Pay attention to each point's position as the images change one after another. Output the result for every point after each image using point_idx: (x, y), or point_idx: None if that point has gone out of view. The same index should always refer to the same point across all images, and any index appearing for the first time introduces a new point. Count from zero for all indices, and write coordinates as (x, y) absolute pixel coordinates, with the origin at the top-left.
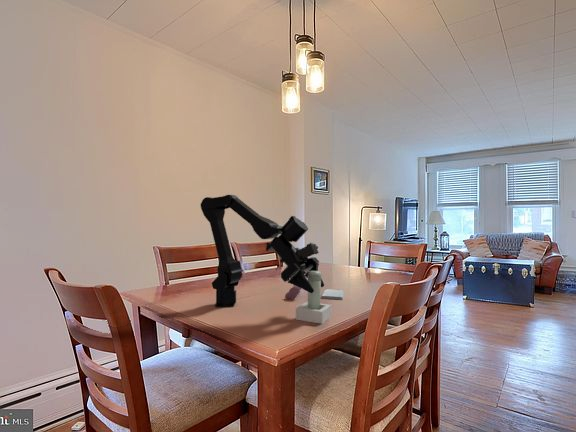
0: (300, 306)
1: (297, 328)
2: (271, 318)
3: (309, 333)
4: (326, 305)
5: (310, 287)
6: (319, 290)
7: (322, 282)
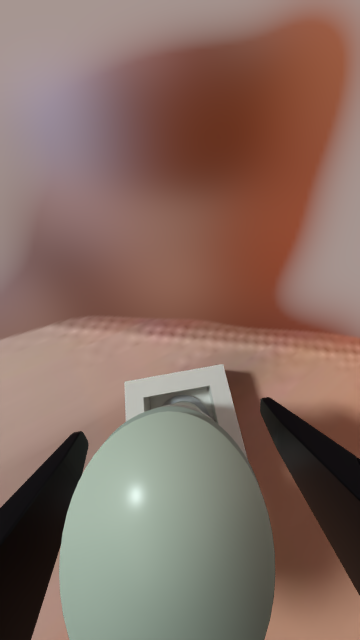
0: None
1: (301, 409)
2: (305, 596)
3: (302, 358)
4: (142, 394)
5: (295, 418)
6: (183, 404)
7: (68, 449)
